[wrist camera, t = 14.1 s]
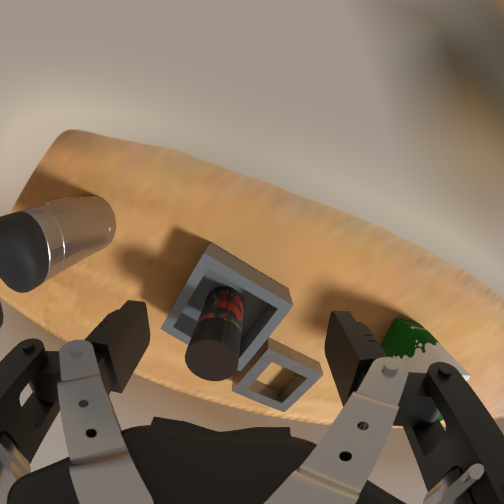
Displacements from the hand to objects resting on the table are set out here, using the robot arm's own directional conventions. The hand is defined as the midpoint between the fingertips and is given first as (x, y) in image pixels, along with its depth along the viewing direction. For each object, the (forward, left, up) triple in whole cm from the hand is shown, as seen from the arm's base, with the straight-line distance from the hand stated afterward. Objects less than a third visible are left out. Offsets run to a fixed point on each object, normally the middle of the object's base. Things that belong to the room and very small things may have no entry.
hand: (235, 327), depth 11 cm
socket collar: (+19, -21, -30) cm, 41 cm away
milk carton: (+36, -3, -30) cm, 47 cm away
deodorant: (+4, -13, -29) cm, 32 cm away
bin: (+4, -13, -30) cm, 33 cm away
